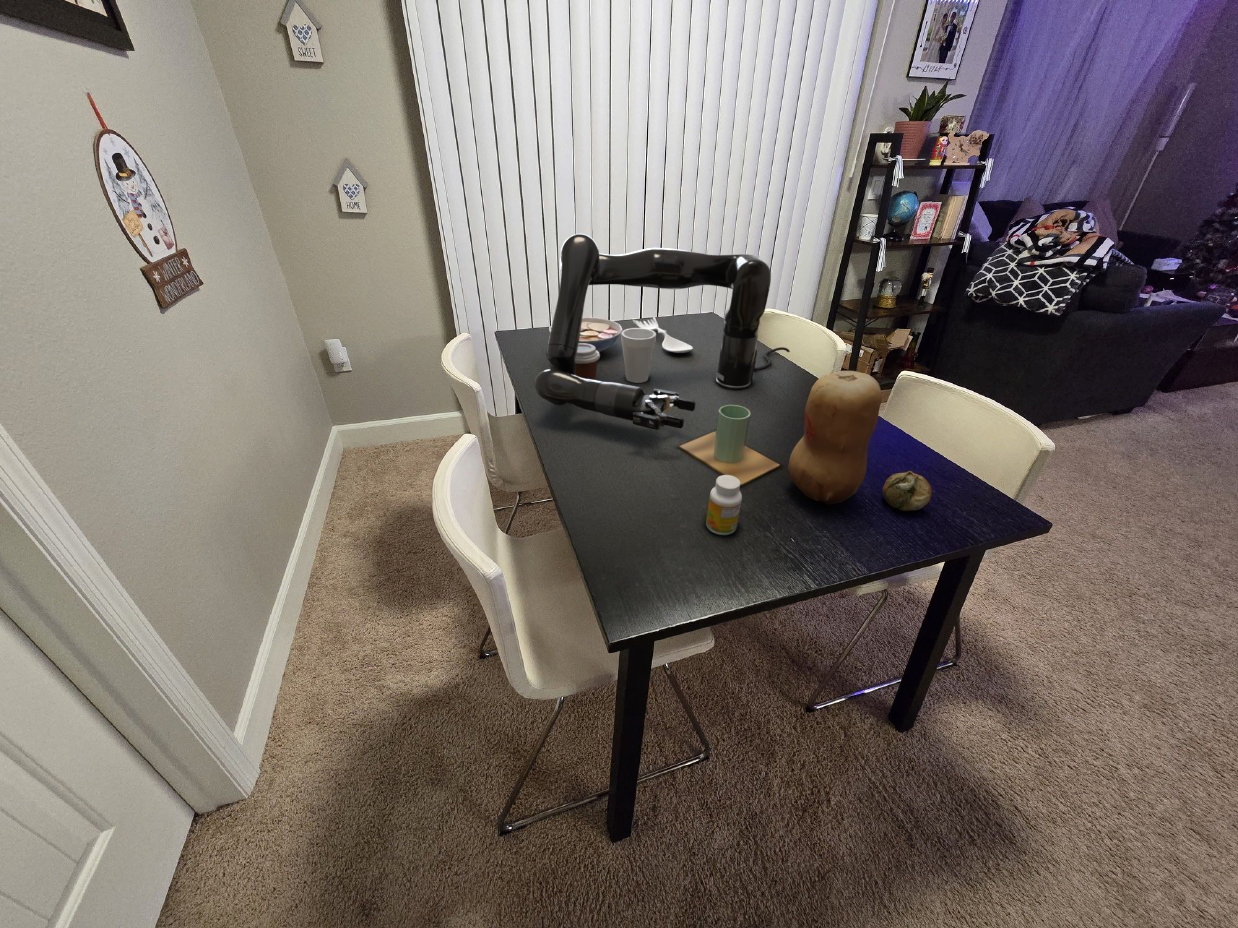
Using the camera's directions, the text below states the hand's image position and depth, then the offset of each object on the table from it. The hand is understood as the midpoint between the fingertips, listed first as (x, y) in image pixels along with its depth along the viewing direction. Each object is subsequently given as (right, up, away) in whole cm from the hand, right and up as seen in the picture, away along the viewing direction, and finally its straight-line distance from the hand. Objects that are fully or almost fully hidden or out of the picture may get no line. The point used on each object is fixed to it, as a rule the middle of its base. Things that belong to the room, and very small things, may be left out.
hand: (689, 414), depth 107 cm
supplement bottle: (+3, -22, -17) cm, 28 cm away
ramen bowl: (-25, +25, +53) cm, 64 cm away
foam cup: (-10, +14, +36) cm, 40 cm away
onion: (+38, -18, -12) cm, 44 cm away
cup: (+8, -9, +1) cm, 12 cm away
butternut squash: (+24, -17, -10) cm, 31 cm away
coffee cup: (-25, +9, +29) cm, 39 cm away
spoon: (0, +31, +62) cm, 69 cm away
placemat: (+9, -9, +2) cm, 13 cm away
